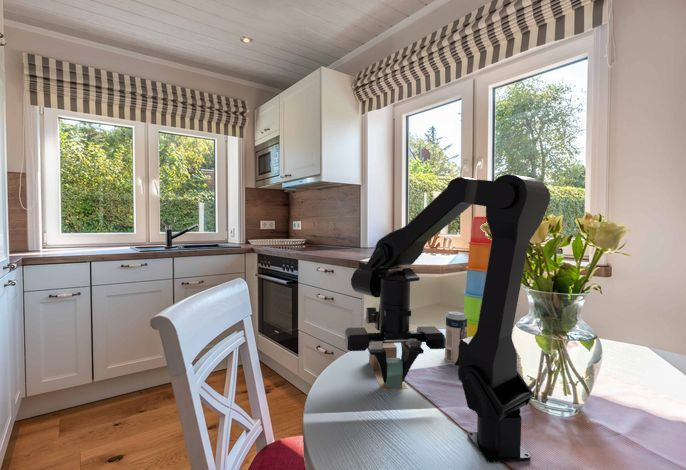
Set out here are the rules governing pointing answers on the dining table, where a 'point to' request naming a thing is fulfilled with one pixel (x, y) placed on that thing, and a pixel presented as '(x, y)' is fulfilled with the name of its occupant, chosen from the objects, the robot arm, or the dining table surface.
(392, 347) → the walnut cube
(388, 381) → the green toy block
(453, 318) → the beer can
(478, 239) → the stacking cups
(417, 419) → the dining table surface
